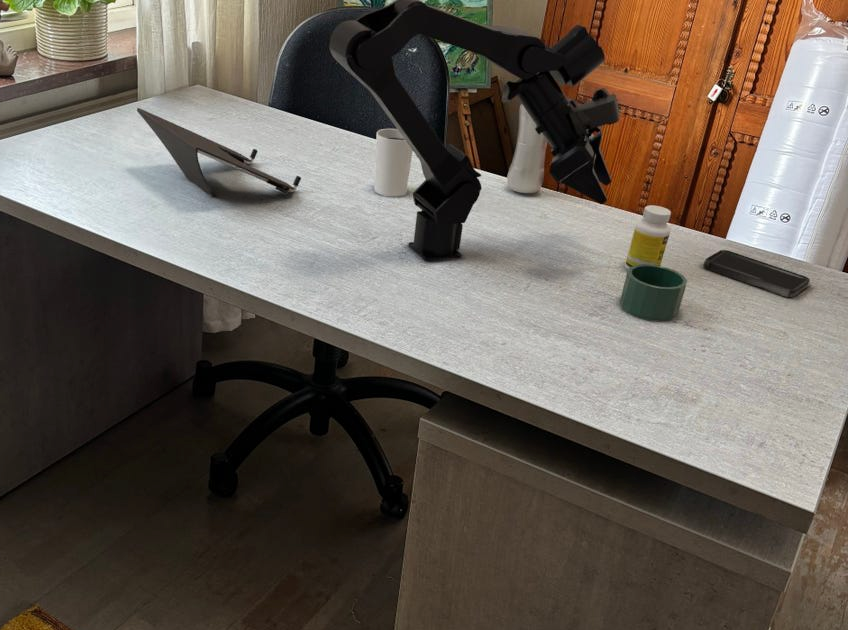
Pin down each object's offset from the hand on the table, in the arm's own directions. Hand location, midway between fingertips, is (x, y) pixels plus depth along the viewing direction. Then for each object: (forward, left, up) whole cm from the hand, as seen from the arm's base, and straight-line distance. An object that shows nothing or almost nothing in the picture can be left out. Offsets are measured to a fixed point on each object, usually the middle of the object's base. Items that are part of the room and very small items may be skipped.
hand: (606, 192), depth 149 cm
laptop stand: (-47, +45, -11) cm, 66 cm away
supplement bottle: (+6, -5, -11) cm, 14 cm away
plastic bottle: (+6, +31, -11) cm, 33 cm away
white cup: (-19, +36, -11) cm, 42 cm away
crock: (-2, -17, -11) cm, 21 cm away
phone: (+23, -12, -11) cm, 28 cm away
